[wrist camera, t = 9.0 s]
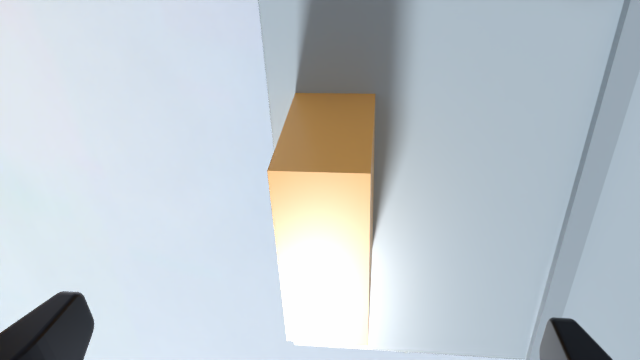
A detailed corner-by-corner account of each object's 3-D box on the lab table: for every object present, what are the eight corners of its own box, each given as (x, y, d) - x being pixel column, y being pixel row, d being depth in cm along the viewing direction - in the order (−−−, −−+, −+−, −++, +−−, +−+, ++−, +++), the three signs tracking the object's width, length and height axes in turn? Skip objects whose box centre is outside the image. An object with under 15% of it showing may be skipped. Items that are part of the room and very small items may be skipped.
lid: (786, 357, 17) (890, 497, 14) (297, 327, 19) (275, 443, 16) (1151, -161, 9) (1624, -150, 6) (253, -125, 11) (189, -101, 8)
